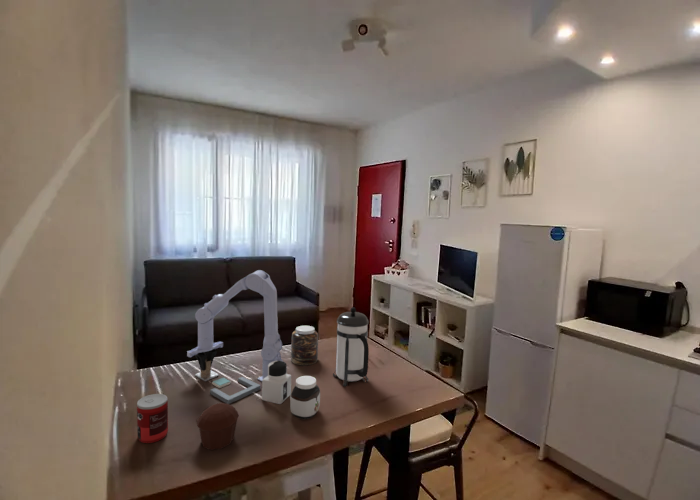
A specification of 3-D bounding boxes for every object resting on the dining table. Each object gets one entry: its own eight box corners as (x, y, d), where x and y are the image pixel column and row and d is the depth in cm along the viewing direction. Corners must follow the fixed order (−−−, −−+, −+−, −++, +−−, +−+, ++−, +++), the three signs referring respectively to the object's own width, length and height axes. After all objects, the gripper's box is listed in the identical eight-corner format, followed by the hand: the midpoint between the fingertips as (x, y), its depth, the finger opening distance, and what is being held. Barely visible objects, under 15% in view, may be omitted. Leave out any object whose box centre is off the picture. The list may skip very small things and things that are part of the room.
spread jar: (305, 424, 112) (306, 389, 111) (278, 413, 117) (278, 380, 116) (326, 407, 122) (327, 375, 121) (300, 398, 128) (300, 367, 127)
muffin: (217, 457, 95) (218, 423, 94) (187, 446, 100) (187, 412, 99) (246, 433, 106) (247, 402, 105) (218, 423, 111) (218, 393, 110)
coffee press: (324, 383, 139) (327, 309, 136) (340, 368, 154) (343, 301, 151) (366, 393, 133) (369, 316, 130) (378, 376, 147) (382, 306, 144)
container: (291, 394, 130) (292, 360, 129) (280, 404, 123) (281, 369, 121) (273, 390, 132) (273, 357, 131) (261, 400, 125) (262, 365, 124)
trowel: (208, 370, 146) (208, 356, 145) (218, 376, 142) (218, 360, 141) (195, 375, 141) (195, 360, 141) (204, 381, 137) (204, 365, 136)
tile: (230, 384, 136) (230, 381, 136) (219, 389, 132) (219, 385, 132) (223, 380, 139) (223, 377, 139) (211, 385, 135) (211, 381, 135)
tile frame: (260, 389, 133) (260, 385, 133) (228, 404, 122) (228, 400, 121) (242, 380, 139) (242, 376, 139) (210, 393, 128) (210, 389, 128)
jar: (310, 353, 168) (311, 323, 167) (321, 362, 158) (322, 330, 157) (287, 357, 162) (288, 326, 161) (297, 367, 152) (297, 334, 151)
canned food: (145, 427, 107) (144, 393, 106) (172, 427, 108) (172, 393, 107) (131, 444, 99) (131, 407, 98) (161, 443, 100) (160, 407, 99)
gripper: (216, 329, 149) (216, 360, 150) (182, 338, 137) (183, 371, 138) (226, 333, 145) (226, 365, 146) (192, 343, 133) (192, 377, 134)
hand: (205, 368), depth 142 cm, fingers closed on trowel
